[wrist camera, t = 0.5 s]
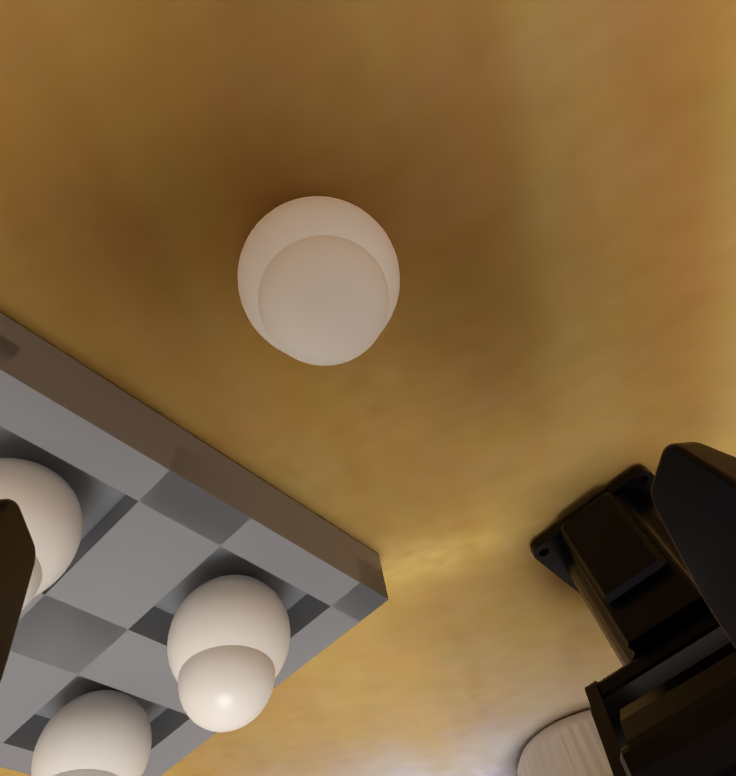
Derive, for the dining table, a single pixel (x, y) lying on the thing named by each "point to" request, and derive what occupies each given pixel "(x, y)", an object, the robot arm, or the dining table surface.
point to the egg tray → (150, 577)
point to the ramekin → (566, 750)
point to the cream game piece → (319, 279)
